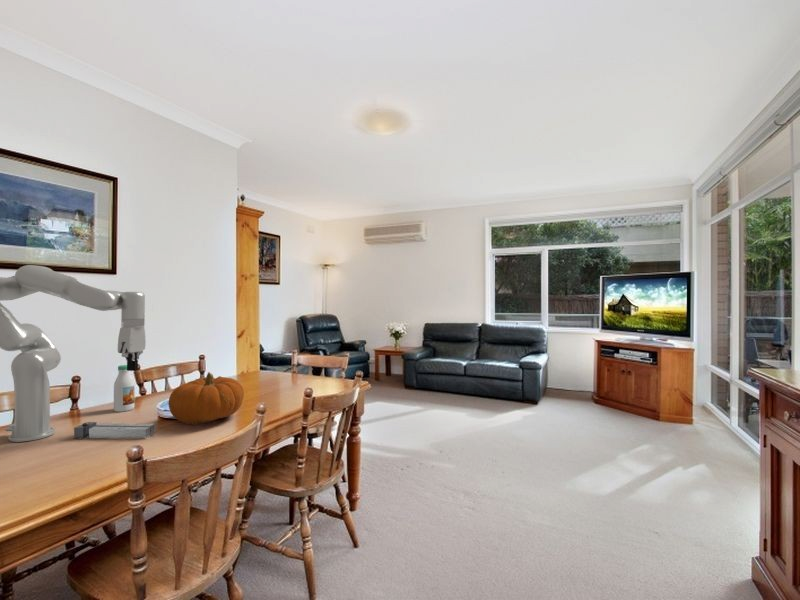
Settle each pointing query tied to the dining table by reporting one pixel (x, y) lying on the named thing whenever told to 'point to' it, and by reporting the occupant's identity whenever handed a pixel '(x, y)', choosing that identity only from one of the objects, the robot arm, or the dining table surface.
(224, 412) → the pumpkin
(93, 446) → the dining table surface
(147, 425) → the tongs free arm
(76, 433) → the arm
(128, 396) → the milk bottle
